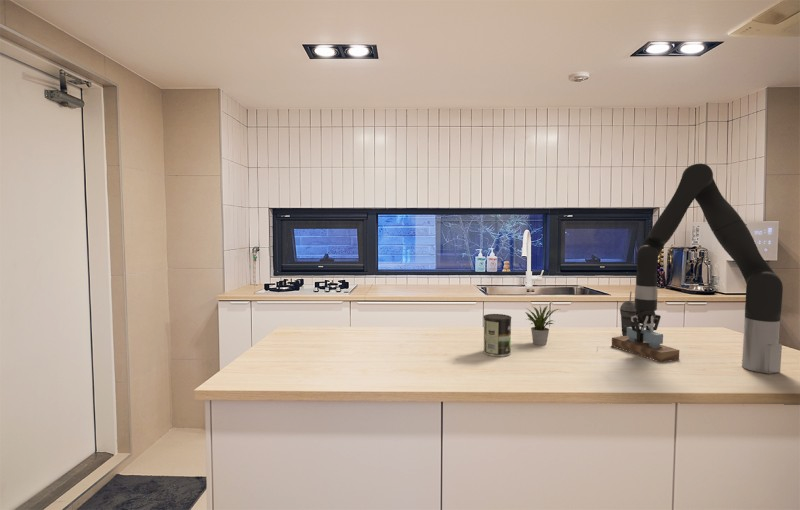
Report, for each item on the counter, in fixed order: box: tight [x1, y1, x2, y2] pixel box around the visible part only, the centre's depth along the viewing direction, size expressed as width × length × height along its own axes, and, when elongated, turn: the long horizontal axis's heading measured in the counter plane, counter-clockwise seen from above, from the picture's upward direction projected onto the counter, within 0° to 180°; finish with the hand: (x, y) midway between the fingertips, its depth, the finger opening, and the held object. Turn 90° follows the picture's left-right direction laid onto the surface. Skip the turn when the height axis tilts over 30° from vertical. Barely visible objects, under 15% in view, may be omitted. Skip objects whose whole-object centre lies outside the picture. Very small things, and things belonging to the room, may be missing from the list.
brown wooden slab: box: [611, 335, 680, 363], centre depth 168 cm, size 22×9×4 cm, turn 20°
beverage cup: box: [619, 291, 636, 336], centre depth 191 cm, size 7×7×20 cm
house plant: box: [525, 304, 560, 346], centre depth 181 cm, size 14×14×16 cm
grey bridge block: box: [627, 327, 664, 348], centre depth 168 cm, size 13×4×6 cm, turn 20°
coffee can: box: [482, 313, 512, 358], centre depth 167 cm, size 10×10×14 cm
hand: (644, 341), depth 168 cm, fingers closed on grey bridge block, 3 cm apart
